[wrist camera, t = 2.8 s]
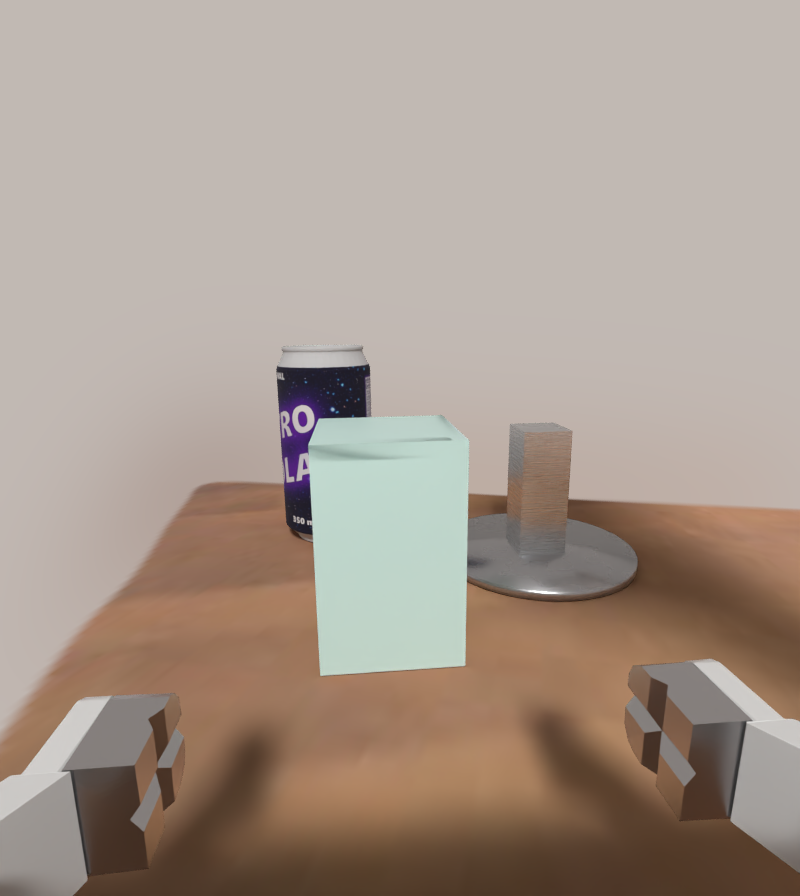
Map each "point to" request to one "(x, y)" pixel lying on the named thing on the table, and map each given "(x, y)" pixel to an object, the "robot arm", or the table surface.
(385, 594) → the mint green lidded box
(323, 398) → the beverage can
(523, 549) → the post
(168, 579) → the table surface
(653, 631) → the table surface
